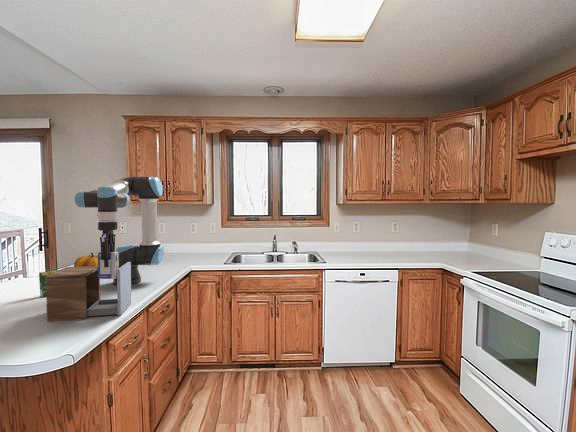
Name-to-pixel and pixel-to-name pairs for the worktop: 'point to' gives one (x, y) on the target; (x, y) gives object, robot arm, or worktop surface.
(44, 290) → the coffee box
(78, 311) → the block
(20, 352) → the worktop surface
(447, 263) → the worktop surface
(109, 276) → the walkman
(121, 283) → the drawer
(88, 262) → the decorative pumpkin
